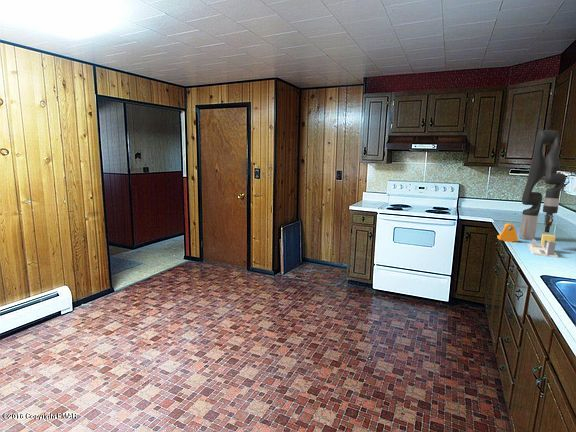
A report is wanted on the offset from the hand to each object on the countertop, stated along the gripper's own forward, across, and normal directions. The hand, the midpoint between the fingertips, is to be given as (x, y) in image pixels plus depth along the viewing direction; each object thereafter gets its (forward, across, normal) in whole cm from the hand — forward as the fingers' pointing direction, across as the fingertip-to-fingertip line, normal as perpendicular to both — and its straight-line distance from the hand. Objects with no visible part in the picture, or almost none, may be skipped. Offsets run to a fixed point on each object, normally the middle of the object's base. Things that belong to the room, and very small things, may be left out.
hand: (546, 232), depth 219 cm
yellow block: (+7, -8, 0) cm, 10 cm away
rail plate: (+11, -9, +3) cm, 14 cm away
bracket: (+10, +10, +20) cm, 25 cm away
